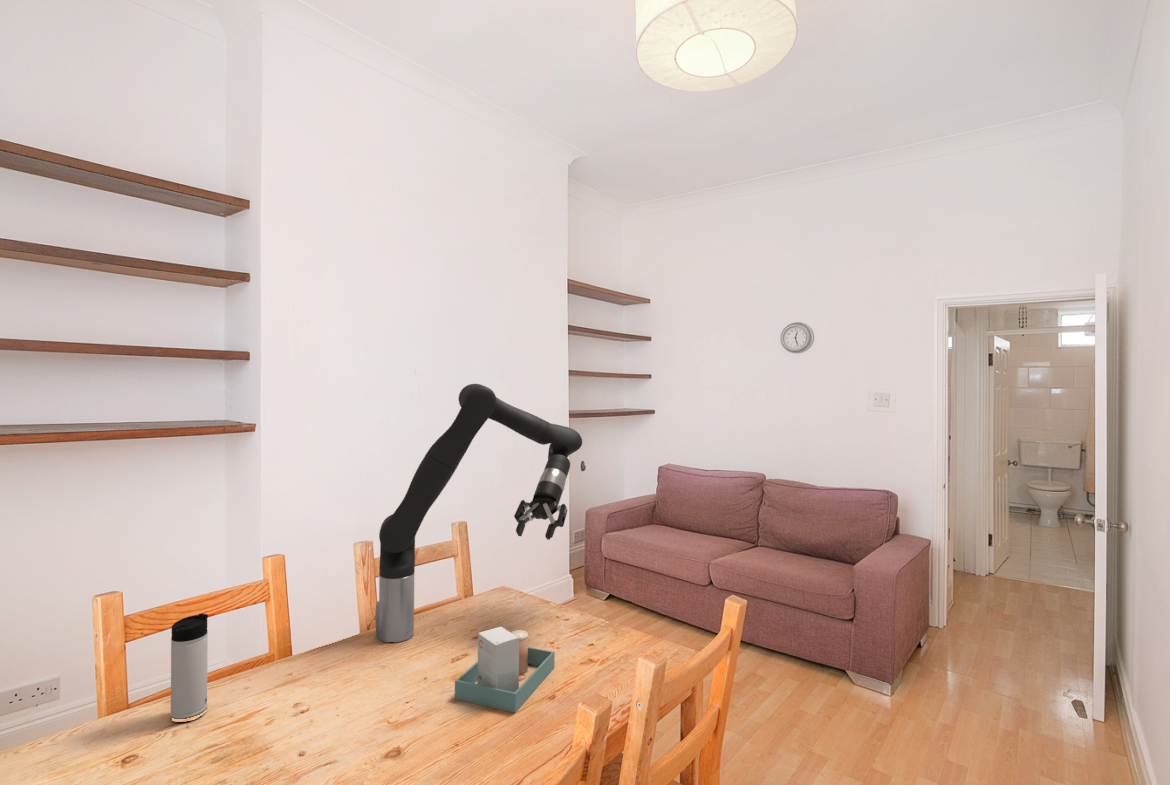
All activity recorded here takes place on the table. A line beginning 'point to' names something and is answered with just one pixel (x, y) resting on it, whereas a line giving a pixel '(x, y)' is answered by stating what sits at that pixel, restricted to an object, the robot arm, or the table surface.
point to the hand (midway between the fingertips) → (533, 536)
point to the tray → (504, 698)
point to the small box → (498, 659)
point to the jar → (522, 650)
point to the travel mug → (189, 666)
